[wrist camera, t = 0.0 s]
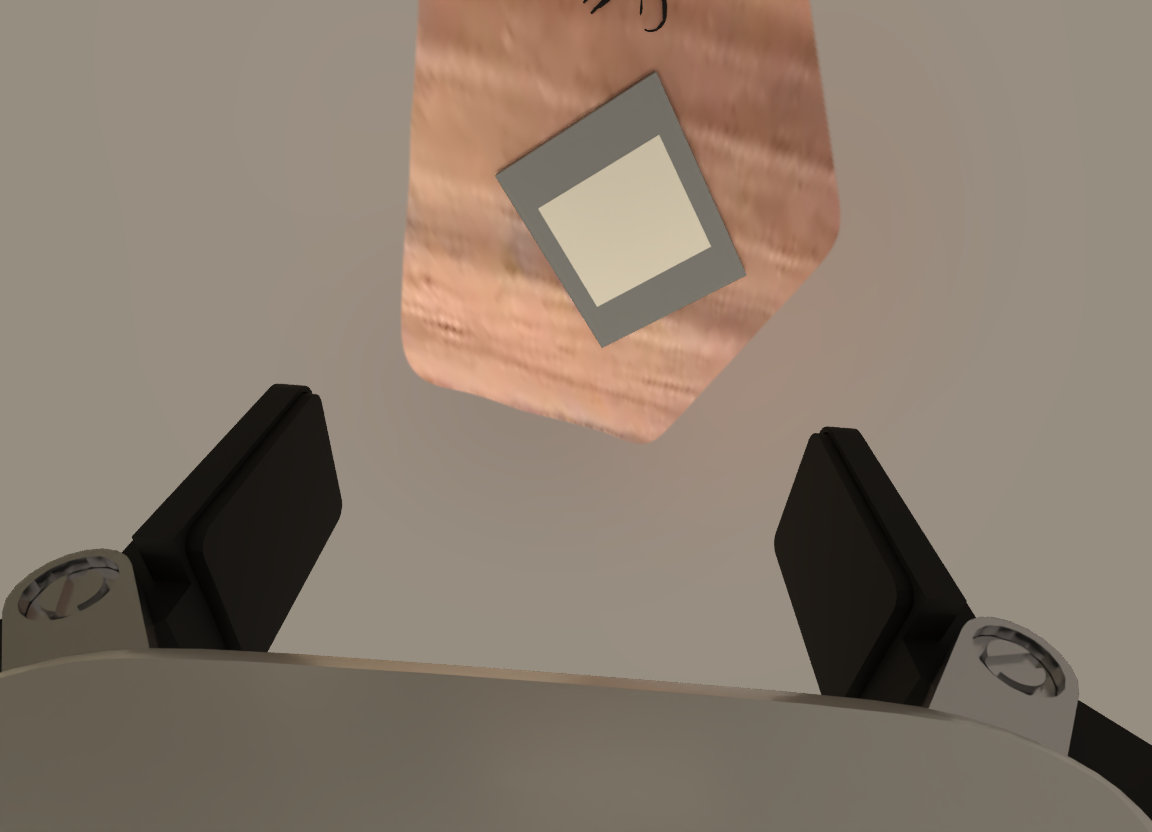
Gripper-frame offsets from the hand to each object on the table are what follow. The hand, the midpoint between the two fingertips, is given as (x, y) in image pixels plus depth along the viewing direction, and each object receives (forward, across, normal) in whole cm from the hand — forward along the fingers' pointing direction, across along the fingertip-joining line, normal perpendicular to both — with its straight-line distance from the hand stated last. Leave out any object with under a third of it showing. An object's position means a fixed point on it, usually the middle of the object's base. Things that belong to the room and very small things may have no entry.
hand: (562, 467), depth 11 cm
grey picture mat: (+37, -3, +5) cm, 38 cm away
